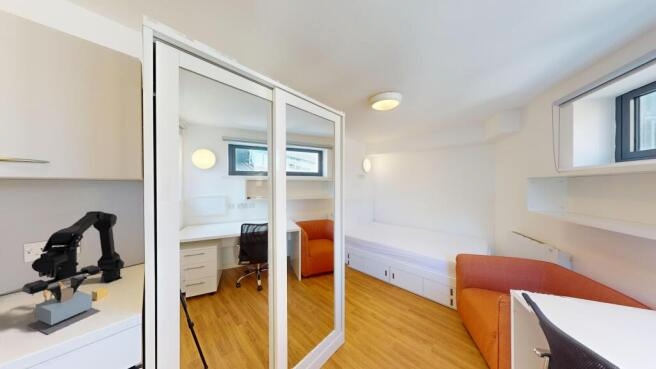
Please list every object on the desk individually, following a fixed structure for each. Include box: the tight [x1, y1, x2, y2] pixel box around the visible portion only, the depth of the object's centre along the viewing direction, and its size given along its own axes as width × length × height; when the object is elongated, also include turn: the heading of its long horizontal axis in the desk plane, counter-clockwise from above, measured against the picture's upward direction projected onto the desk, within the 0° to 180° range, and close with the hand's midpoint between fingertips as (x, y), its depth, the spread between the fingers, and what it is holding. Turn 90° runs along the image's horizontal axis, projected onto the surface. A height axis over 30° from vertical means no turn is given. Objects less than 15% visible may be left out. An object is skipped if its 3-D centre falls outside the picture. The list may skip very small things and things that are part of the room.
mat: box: [27, 307, 101, 336], centre depth 82 cm, size 14×14×1 cm
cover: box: [34, 286, 93, 325], centre depth 82 cm, size 11×11×10 cm
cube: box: [91, 286, 109, 302], centre depth 96 cm, size 4×4×4 cm
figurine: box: [31, 281, 65, 302], centre depth 87 cm, size 8×6×12 cm
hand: (65, 298), depth 82 cm, fingers closed on cover, 3 cm apart
